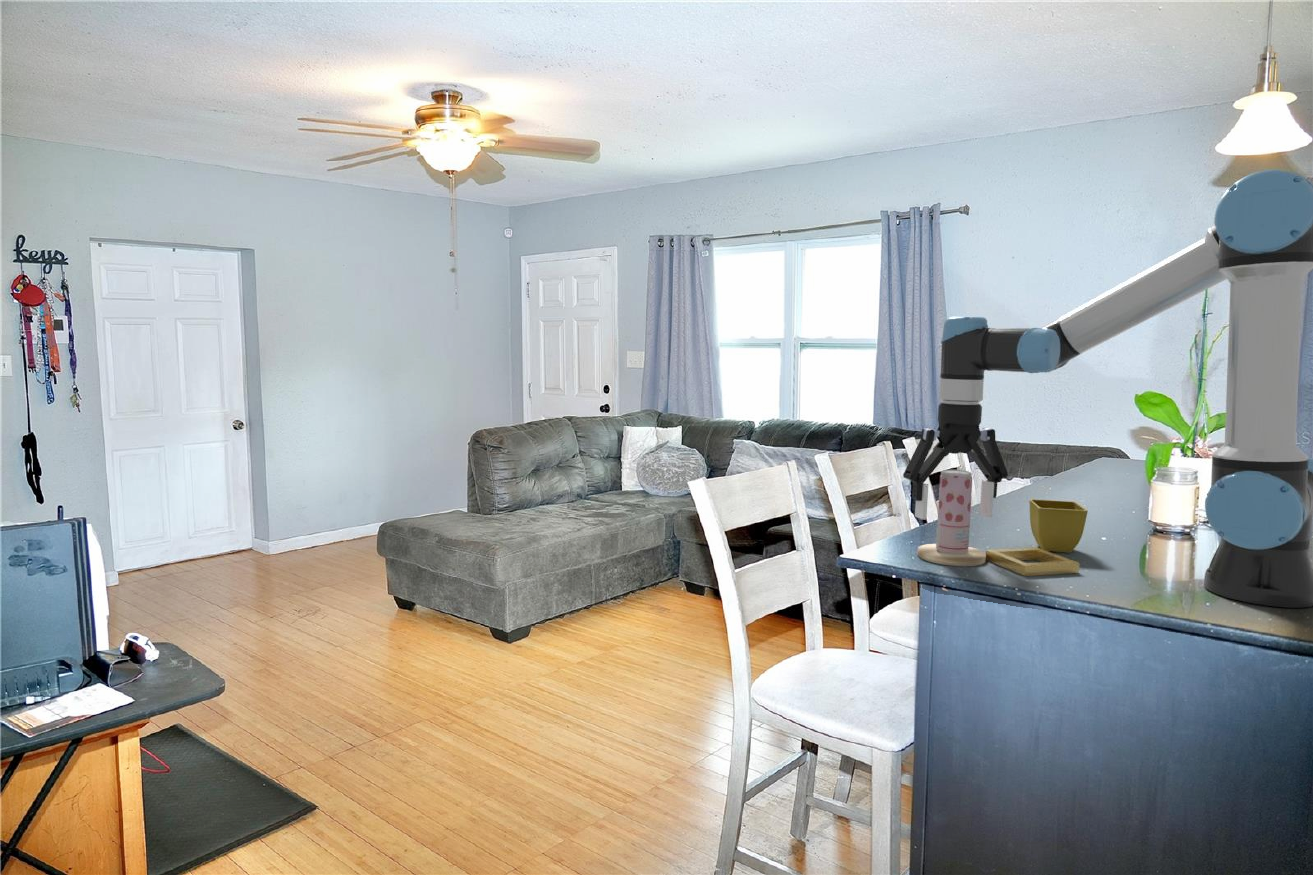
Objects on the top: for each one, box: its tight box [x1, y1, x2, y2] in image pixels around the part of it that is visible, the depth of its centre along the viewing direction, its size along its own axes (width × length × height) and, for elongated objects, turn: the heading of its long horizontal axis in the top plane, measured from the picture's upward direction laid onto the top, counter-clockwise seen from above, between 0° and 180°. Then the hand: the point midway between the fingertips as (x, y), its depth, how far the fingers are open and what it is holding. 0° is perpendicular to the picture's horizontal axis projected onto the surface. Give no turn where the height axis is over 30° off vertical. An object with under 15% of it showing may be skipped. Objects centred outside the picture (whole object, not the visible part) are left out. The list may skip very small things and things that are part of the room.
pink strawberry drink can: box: [935, 469, 973, 555], centre depth 158 cm, size 6×6×15 cm
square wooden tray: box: [985, 547, 1080, 577], centre depth 153 cm, size 11×11×2 cm
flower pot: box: [1028, 498, 1088, 553], centre depth 166 cm, size 9×9×9 cm
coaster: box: [917, 543, 987, 567], centre depth 159 cm, size 12×12×1 cm
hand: (953, 517), depth 158 cm, fingers open, 13 cm apart
